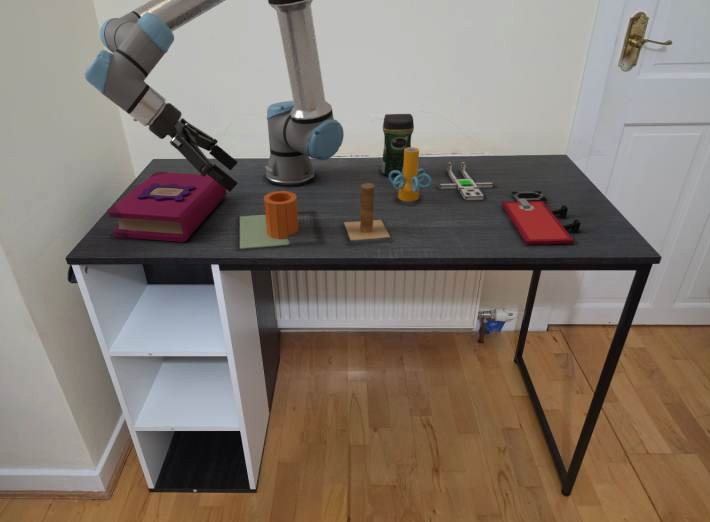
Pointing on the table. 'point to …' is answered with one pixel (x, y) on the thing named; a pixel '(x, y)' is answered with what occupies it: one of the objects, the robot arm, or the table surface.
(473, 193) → the robot figure
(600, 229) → the table surface
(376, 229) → the peg stand
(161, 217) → the book
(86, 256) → the table surface
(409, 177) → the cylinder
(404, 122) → the coffee jar
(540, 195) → the red board with handle
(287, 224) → the orange hollow tube
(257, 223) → the mat
